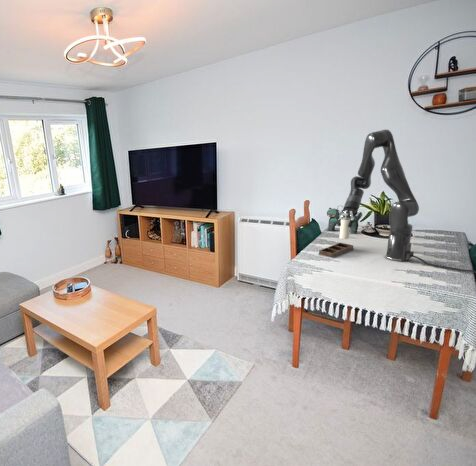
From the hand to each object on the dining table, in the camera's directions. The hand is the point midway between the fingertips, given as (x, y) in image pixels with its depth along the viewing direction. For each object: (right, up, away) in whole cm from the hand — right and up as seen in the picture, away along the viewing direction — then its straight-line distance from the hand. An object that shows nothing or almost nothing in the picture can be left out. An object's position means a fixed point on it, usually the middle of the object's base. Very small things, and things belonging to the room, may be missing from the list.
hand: (344, 225), depth 191 cm
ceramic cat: (+27, -4, +40) cm, 48 cm away
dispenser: (+2, -7, +3) cm, 8 cm away
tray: (-4, -17, +2) cm, 17 cm away
